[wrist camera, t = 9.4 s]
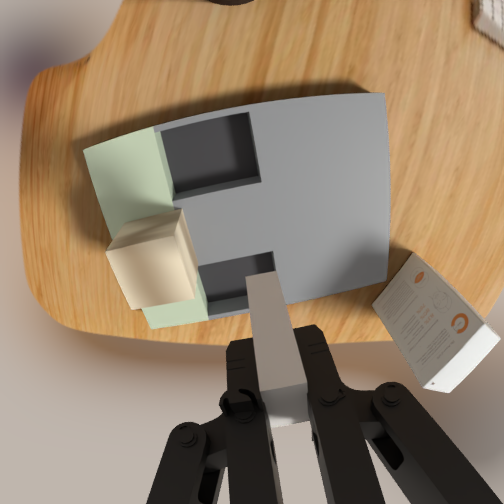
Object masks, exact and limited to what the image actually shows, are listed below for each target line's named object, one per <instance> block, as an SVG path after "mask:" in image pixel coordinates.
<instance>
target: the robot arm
mask: <svg viewBox="0 0 504 504" xmlns="http://www.w3.org/2000/svg"><path fill="white" fill-rule="evenodd" d="M246 286H247V294H248V302H249V310H250V318H251V326H252V334H253V337H252V338H247V339H241V340H235V341H230V344H229V346H228V348H227V350H226V362H227V363H226V364H227V365H226V366H227V391H226V392H224V394H223V395H222V397H221V398H220V402H219V406H220V408H221V410H222V412H223V413H222V414H221V415H220V416H219V417H218V418H216V419H214V420H212V421H209V422H207V423H204V424H202V425H199V424H197V423H194V422H184V423H182V424H179V425H177V426H176V427H175V428H174V429H173V430H172V432H171V433H170V435H169V438H168V441H167V444H166V447H165V450H164V452H163V456H162V458H161V461H160V464H159V467H158V470H157V473H156V476H155V479H154V482H153V485H152V488H151V491H150V494H149V497H148V500H147V503H146V504H217V501H218V497H219V492H220V488H221V484H222V479H223V474H224V471H225V467H228V481H229V494H230V504H283V498H282V492H281V486H280V480H279V473H278V467H277V461H276V454H275V447H274V441H273V438H272V434H271V428H274V427H280V426H285V425H290V424H295V423H300V422H305V421H310V424H311V428H312V441H314V445H315V450H316V454H317V458H318V463H319V467H320V472H321V476H322V480H323V485H324V489H325V494H326V498H327V503H328V504H385V501H384V497H383V494H382V491H381V488H380V485H379V481H378V478H377V475H376V471H375V468H374V465H373V462H372V459H371V456H370V453H369V450H368V447H367V444H366V441H365V439H366V440H367V441H368V443H369V444H370V446H371V447H372V449H373V450H374V451H375V453H376V454H377V456H378V457H379V459H380V460H381V461H382V463H383V464H384V466H385V467H386V469H387V470H388V472H389V473H390V474H391V476H392V477H393V479H394V480H395V482H396V483H397V484H398V486H399V487H400V489H401V490H402V492H403V493H404V495H405V496H406V497H407V499H408V500H409V502H410V503H411V504H503V503H502V502H501V501H500V499H499V498H498V497H497V496H496V494H495V493H494V492H493V491H492V489H491V488H490V487H489V486H488V484H487V483H486V482H485V481H484V479H483V478H482V477H481V476H480V475H479V473H478V472H477V471H476V470H475V468H474V467H473V466H472V465H471V463H470V462H469V461H468V460H467V459H466V457H465V456H464V455H463V454H462V453H461V451H460V450H459V449H458V448H457V447H456V445H455V444H454V443H453V442H452V441H451V440H450V438H449V437H448V436H447V435H446V433H445V432H444V431H443V430H442V429H441V427H440V426H439V425H438V424H437V423H436V422H435V420H434V419H433V418H432V417H431V416H430V415H429V413H428V412H427V411H426V410H425V409H424V408H423V407H422V405H421V404H420V403H419V402H418V401H417V399H416V398H415V397H414V396H413V395H412V394H411V393H410V392H409V390H408V389H407V388H406V387H405V386H403V385H402V384H400V383H397V382H386V383H384V384H381V385H380V386H379V387H377V388H376V390H368V391H360V390H354V389H351V388H349V387H347V386H346V385H344V383H343V382H342V381H341V379H340V377H339V375H338V372H337V369H336V366H335V364H334V361H333V358H332V355H331V353H330V351H329V347H328V345H327V343H326V339H325V337H324V334H323V331H321V330H320V329H319V328H318V327H317V326H316V325H315V324H313V325H309V326H304V327H300V328H295V329H293V328H292V324H291V321H290V317H289V314H288V310H287V306H286V303H285V299H284V296H283V292H282V289H281V285H280V282H279V278H278V275H277V271H272V272H267V273H262V274H257V275H252V276H247V277H246ZM309 419H310V420H309Z"/></svg>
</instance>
